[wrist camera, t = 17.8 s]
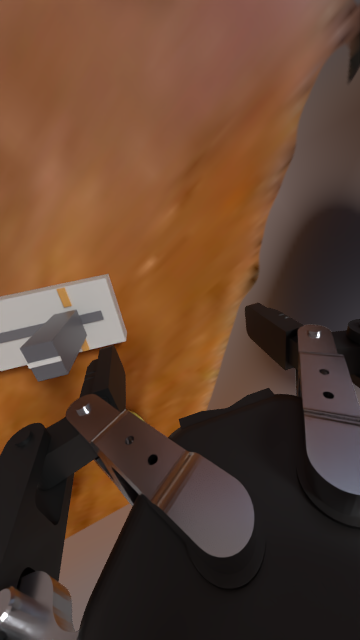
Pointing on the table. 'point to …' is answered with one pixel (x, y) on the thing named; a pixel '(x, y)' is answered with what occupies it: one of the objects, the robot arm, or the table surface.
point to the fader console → (41, 304)
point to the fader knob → (55, 345)
